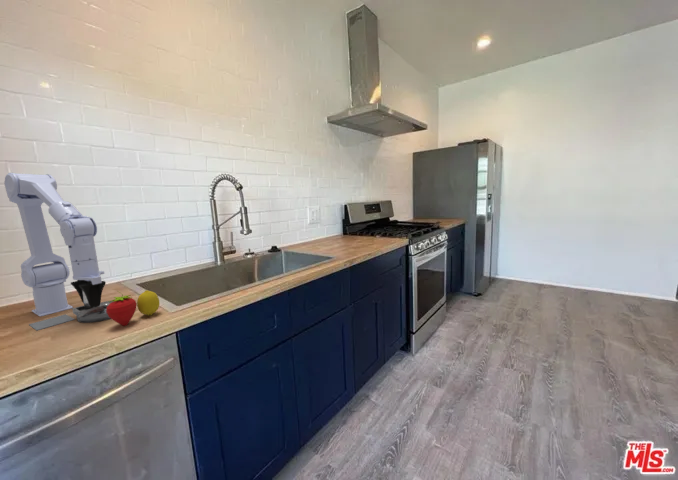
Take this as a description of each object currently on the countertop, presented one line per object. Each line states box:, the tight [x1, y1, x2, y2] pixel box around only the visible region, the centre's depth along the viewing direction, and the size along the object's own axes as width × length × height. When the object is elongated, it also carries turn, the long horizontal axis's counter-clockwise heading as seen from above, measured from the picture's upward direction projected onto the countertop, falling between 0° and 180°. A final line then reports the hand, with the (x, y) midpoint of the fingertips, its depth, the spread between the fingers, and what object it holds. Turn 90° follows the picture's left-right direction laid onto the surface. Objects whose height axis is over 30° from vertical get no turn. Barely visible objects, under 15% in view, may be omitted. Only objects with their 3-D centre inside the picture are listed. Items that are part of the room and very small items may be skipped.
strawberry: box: [106, 290, 137, 327], centre depth 79 cm, size 6×8×10 cm
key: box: [82, 290, 99, 310], centre depth 85 cm, size 3×3×7 cm
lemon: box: [136, 289, 160, 317], centre depth 85 cm, size 6×6×8 cm
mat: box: [28, 314, 75, 332], centre depth 84 cm, size 8×8×1 cm
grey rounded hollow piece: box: [71, 299, 114, 324], centre depth 89 cm, size 14×14×4 cm
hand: (91, 304), depth 85 cm, fingers open, 5 cm apart
